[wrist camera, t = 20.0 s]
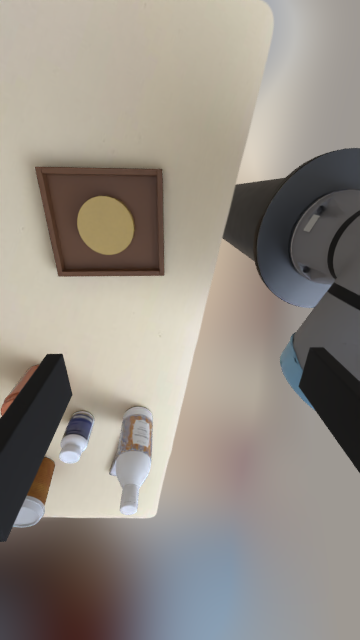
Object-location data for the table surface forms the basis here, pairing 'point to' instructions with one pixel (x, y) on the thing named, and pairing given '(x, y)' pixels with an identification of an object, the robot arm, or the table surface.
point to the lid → (105, 225)
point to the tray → (121, 183)
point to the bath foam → (134, 456)
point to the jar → (17, 388)
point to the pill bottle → (76, 436)
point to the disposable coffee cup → (36, 496)
